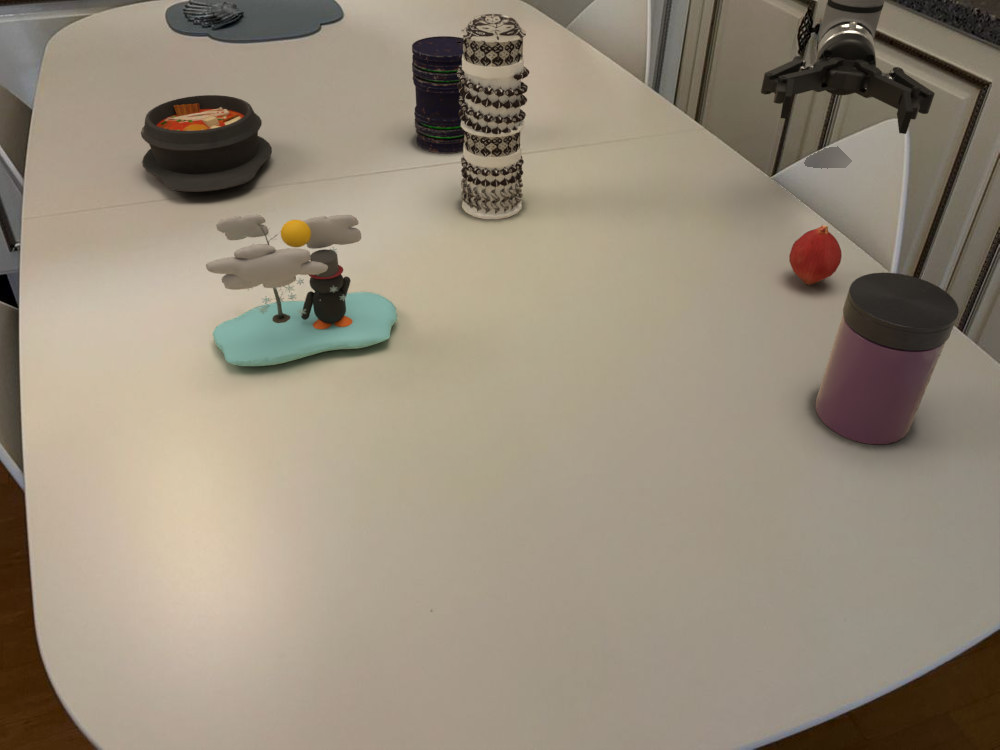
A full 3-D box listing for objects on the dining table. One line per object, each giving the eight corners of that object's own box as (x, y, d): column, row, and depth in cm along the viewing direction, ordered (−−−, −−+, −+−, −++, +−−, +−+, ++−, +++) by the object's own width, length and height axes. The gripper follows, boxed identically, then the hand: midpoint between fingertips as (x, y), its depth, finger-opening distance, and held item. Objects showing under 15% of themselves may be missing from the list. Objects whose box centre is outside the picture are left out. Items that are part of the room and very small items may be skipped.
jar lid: (945, 304, 81) (953, 282, 79) (954, 359, 74) (964, 336, 72) (842, 286, 83) (849, 265, 81) (842, 339, 76) (849, 316, 74)
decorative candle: (501, 185, 125) (504, 5, 109) (537, 210, 119) (545, 23, 103) (447, 200, 121) (442, 15, 106) (481, 226, 115) (481, 34, 99)
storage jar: (439, 158, 132) (436, 60, 123) (403, 138, 138) (398, 43, 129) (489, 143, 137) (490, 47, 128) (453, 124, 143) (451, 32, 134)
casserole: (146, 141, 136) (132, 89, 131) (265, 129, 140) (257, 78, 135) (144, 211, 117) (128, 153, 112) (282, 194, 121) (273, 138, 116)
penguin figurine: (390, 299, 100) (381, 179, 91) (408, 351, 92) (400, 226, 83) (214, 324, 96) (185, 201, 86) (216, 381, 88) (185, 252, 78)
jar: (907, 396, 87) (950, 288, 79) (912, 453, 81) (960, 341, 73) (816, 378, 89) (848, 271, 81) (813, 433, 83) (849, 322, 75)
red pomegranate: (774, 274, 106) (788, 216, 101) (814, 267, 107) (830, 210, 102) (800, 299, 102) (816, 239, 97) (842, 291, 103) (860, 232, 98)
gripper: (758, 21, 118) (744, 70, 102) (952, 41, 112) (970, 96, 96) (747, 76, 122) (732, 131, 106) (933, 98, 116) (947, 159, 100)
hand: (845, 115), depth 101 cm, fingers open, 13 cm apart
